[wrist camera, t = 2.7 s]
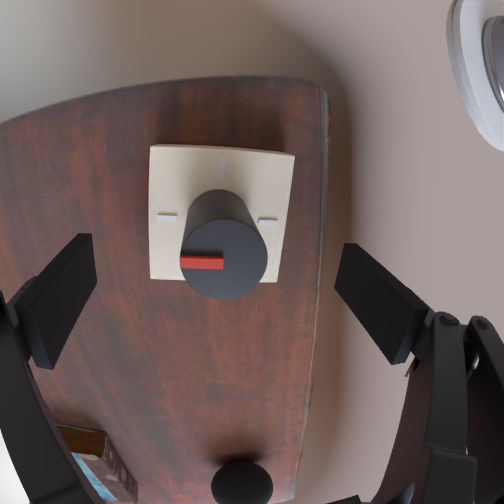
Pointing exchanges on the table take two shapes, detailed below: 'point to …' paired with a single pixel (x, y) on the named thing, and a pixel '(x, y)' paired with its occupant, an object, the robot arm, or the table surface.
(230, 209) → the knob
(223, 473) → the speaker
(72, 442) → the book
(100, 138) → the table surface
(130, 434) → the table surface
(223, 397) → the table surface
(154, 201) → the knob panel
